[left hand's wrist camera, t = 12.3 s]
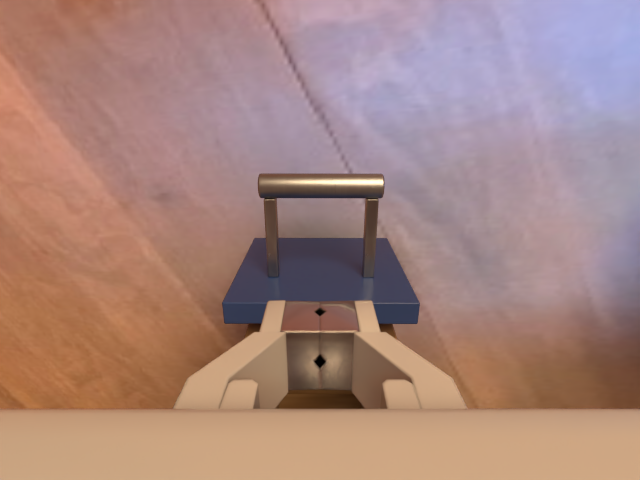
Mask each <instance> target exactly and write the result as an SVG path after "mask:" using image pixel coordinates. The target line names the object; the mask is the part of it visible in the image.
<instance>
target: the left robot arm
mask: <svg viewBox="0 0 640 480" xmlns="http://www.w3.org/2000/svg"><path fill="white" fill-rule="evenodd" d="M288 390H352V393H353V394H354V395H355V397H356V398H357V399H358V400H359V402H360V403H361V404H362V405H363V407H364V408H365V409H275V408H276V407H277V406H278V404H279V403H280V402H281V401H282V399H283V398H284V397H285V396H286V395H287V393H288ZM0 480H640V409H467V407H466V405H465V402H464V400H463V398H462V396H461V394H460V392H459V390H458V388H457V386H456V384H455V382H454V380H453V378H451V377H450V376H449V375H447V374H446V373H444V372H443V371H441V370H440V369H438V368H437V367H436V366H434V365H433V364H431V363H430V362H428V361H427V360H425V359H424V358H423V357H421V356H420V355H418V354H417V353H415V352H414V351H412V350H411V349H410V348H408V347H407V346H405V345H404V344H402V343H401V342H399V341H398V340H397V339H395V338H394V337H392V336H391V335H389V334H388V333H386V332H381V331H380V327H379V324H378V320H377V317H376V313H375V309H374V306H373V302H372V301H371V300H359V301H290V300H287V301H285V300H269V301H268V302H267V305H266V309H265V313H264V316H263V320H262V324H261V327H260V331H259V332H254V333H252V334H251V335H249V336H248V337H246V338H245V339H243V340H242V341H241V342H239V343H238V344H236V345H235V346H233V347H232V348H230V349H229V350H227V351H226V352H225V353H223V354H222V355H220V356H219V357H217V358H216V359H214V360H213V361H211V362H210V363H209V364H207V365H206V366H204V367H203V368H201V369H200V370H198V371H197V372H196V373H194V374H193V375H191V376H190V377H188V378H187V380H186V382H185V384H184V386H183V388H182V390H181V392H180V394H179V396H178V398H177V401H176V403H175V405H174V407H173V409H0Z"/></svg>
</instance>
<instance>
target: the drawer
mask: <svg viewBox="0 0 640 480" xmlns="http://www.w3.org/2000/svg"><path fill="white" fill-rule="evenodd" d="M258 193H259V196H260V198H265V199H264V213H265V231H266V238H255V239H254V241H253V243H252V245H251V247H250V249H249V251H248V253H247V255H246V257H245V259H244V260H243V262H242V264H241V266H240V268H239V270H238V272H237V274H236V276H235V278H234V280H233V282H232V284H231V286H230V288H229V290H228V292H227V294H226V296H225V298H224V300H223V302H222V306H223V315H224V323H225V324H249V325H248V328H247V332H246V335H245V338H246V337H248V336H249V335H251V334H252V333H254V332H259V331H260V327H261V324H262V320H263V316H264V313H265V309H266V305H267V302H268V301H269V300H285V301H287V300H290V301H359V300H371V301H372V302H373V306H374V309H375V313H376V317H377V320H378V324H379V327H380V331H381V332H386V333H388V334H389V335H391V336H392V337H394V338H395V339H397V337H396V334H395V330H394V327H393V324H417V323H418V315H419V306H420V303H419V301H418V299H417V297H416V295H415V293H414V291H413V289H412V287H411V285H410V283H409V281H408V279H407V277H406V275H405V273H404V271H403V269H402V267H401V265H400V263H399V261H398V259H397V257H396V255H395V253H394V251H393V249H392V247H391V245H390V243H389V241H388V239H387V238H376V234H377V218H378V201H379V200H378V198H382V197H383V194H384V176H383V174H259V177H258ZM277 198H365V219H364V238H278V217H277ZM245 338H244V339H245ZM275 409H365V408H364V407H363V405H362V404H361V403H360V402H359V400H358V399H357V398H356V397H355V395H354V394H353V393H352V390H288V393H287V395H286V396H285V397H284V398H283V399H282V401H281V402H280V403H279V404H278V406H277V407H276V408H275Z"/></svg>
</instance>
